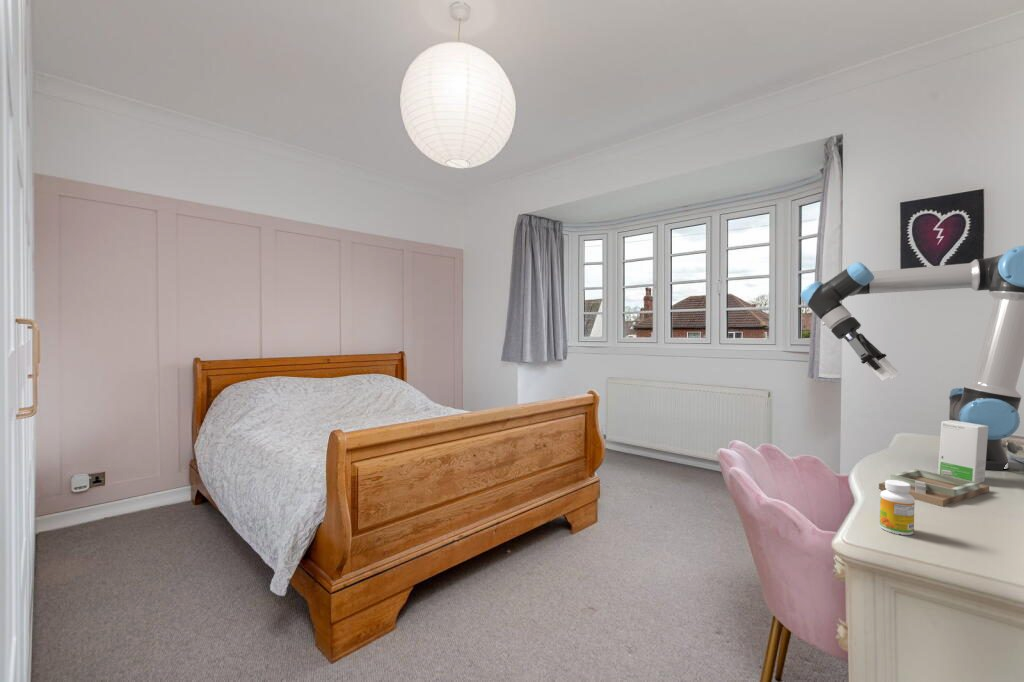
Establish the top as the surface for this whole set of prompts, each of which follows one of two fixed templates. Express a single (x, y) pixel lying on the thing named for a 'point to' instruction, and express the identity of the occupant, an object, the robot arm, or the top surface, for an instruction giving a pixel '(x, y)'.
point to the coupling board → (938, 486)
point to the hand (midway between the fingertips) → (891, 377)
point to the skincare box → (963, 450)
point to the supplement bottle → (897, 508)
